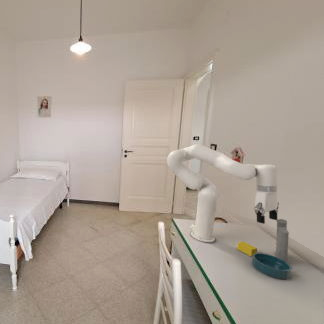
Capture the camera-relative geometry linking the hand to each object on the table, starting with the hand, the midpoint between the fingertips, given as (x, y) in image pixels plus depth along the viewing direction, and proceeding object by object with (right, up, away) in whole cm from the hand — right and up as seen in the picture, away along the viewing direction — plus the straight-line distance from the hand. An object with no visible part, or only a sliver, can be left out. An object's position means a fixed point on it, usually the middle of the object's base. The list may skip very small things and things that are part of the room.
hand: (267, 221), depth 106 cm
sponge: (-5, -19, +6) cm, 21 cm away
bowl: (-6, -21, -8) cm, 23 cm away
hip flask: (+9, -19, +2) cm, 21 cm away
